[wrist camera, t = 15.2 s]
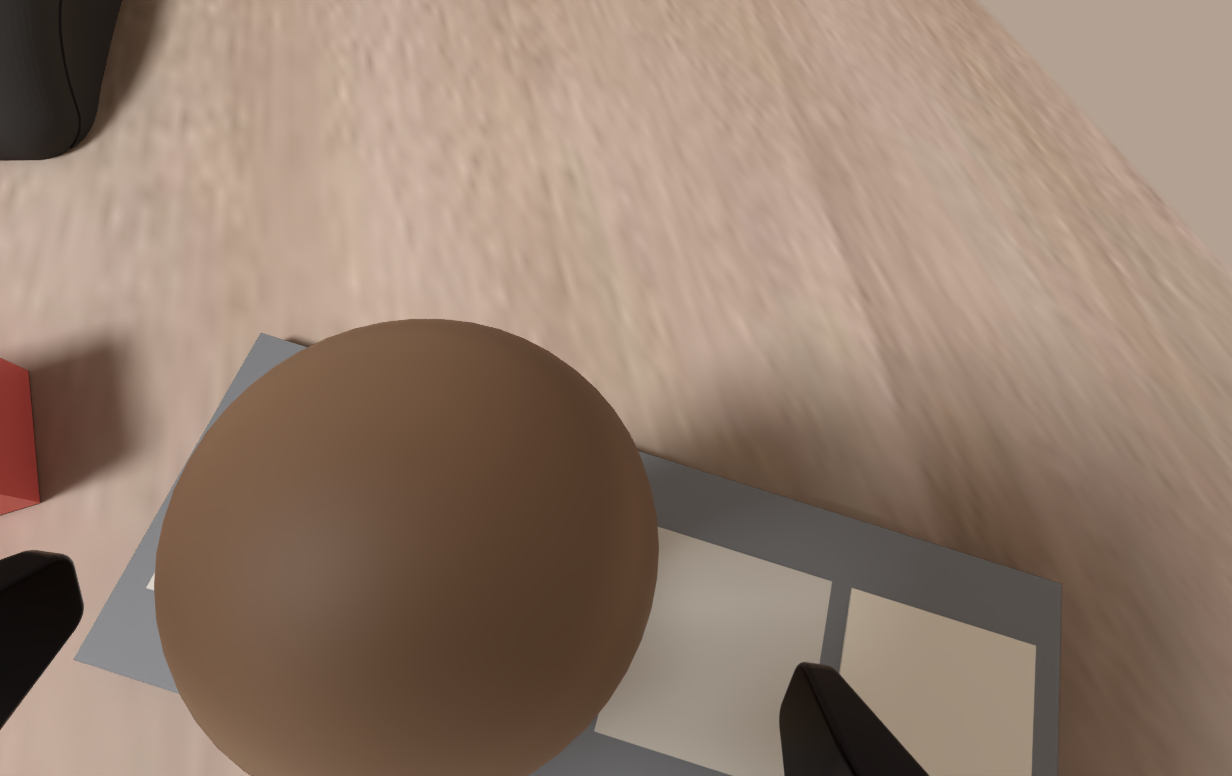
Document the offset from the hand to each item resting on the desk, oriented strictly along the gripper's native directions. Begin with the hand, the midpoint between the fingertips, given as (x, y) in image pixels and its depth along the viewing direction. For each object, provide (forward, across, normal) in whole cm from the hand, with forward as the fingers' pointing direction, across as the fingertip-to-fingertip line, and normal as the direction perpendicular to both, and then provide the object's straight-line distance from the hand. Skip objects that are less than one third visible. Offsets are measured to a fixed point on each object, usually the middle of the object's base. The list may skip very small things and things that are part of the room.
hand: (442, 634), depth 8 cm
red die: (+8, +15, +5) cm, 18 cm away
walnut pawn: (+7, 0, +5) cm, 8 cm away
